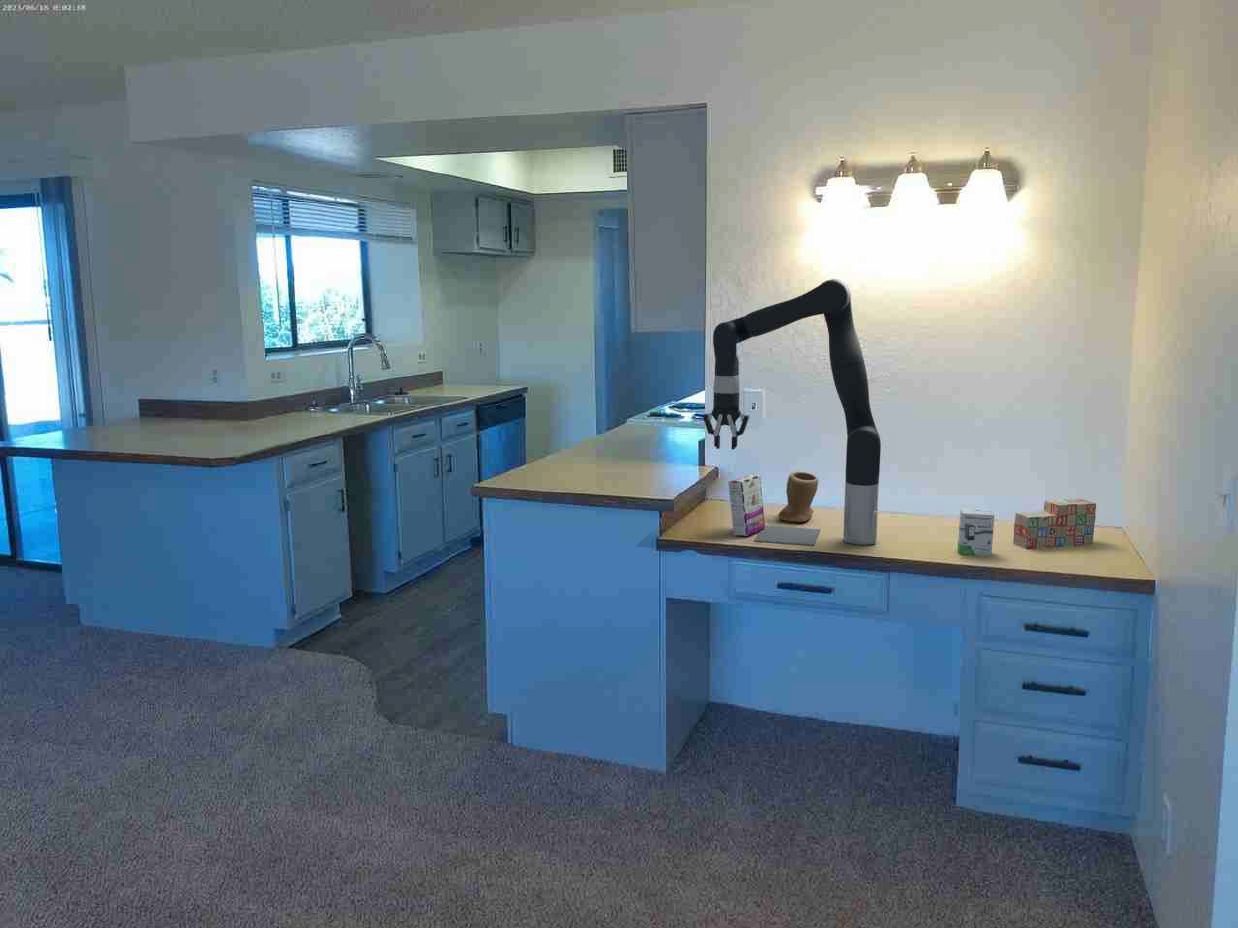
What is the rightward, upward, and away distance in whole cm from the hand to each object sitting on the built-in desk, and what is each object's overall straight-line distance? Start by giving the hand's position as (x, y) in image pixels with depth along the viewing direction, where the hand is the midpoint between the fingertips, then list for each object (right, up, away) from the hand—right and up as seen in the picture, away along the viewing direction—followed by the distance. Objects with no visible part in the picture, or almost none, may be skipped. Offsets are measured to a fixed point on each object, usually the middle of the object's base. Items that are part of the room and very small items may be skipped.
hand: (725, 448), depth 286 cm
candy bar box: (+7, -25, +2) cm, 26 cm away
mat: (+18, -26, -1) cm, 32 cm away
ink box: (+66, -29, -20) cm, 75 cm away
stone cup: (+25, -22, +20) cm, 39 cm away
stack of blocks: (+92, -28, -11) cm, 96 cm away
